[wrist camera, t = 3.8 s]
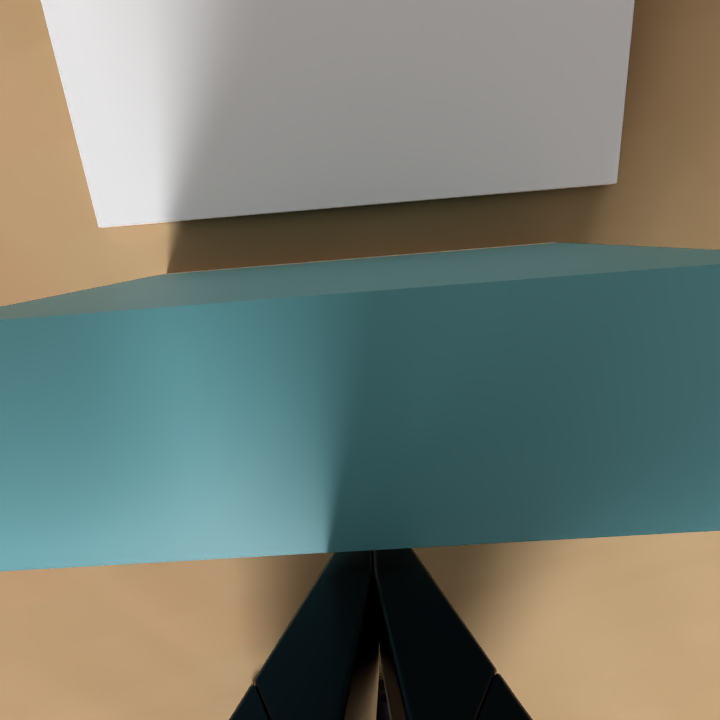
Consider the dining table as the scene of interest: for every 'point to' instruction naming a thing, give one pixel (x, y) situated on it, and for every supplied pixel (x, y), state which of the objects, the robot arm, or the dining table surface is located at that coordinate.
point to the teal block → (363, 406)
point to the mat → (336, 101)
